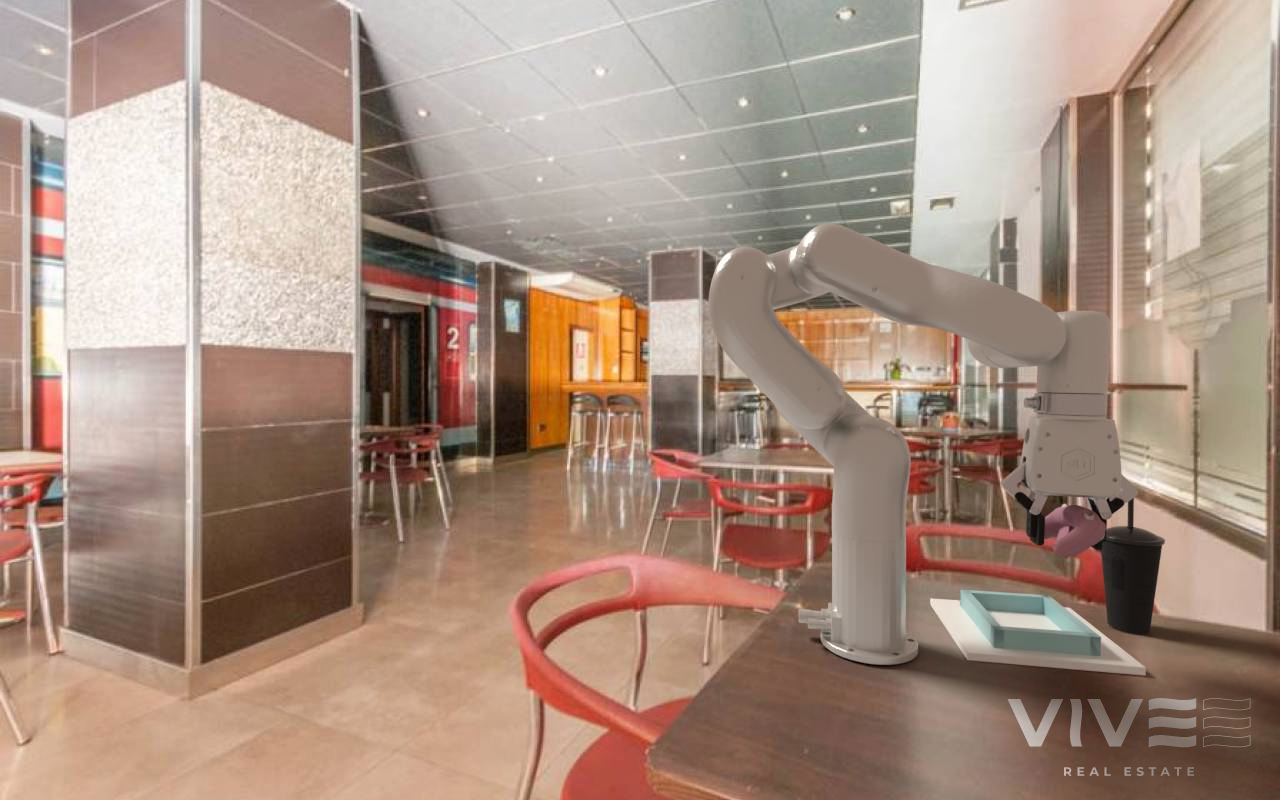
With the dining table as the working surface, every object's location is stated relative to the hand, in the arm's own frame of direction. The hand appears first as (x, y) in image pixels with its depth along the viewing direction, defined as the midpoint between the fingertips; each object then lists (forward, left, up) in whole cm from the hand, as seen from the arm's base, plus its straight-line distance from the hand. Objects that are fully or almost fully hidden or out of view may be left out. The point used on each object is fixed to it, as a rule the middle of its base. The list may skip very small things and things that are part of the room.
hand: (1064, 543), depth 79 cm
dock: (-3, +6, -15) cm, 17 cm away
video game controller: (0, 0, -1) cm, 1 cm away
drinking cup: (+13, +12, -15) cm, 24 cm away
